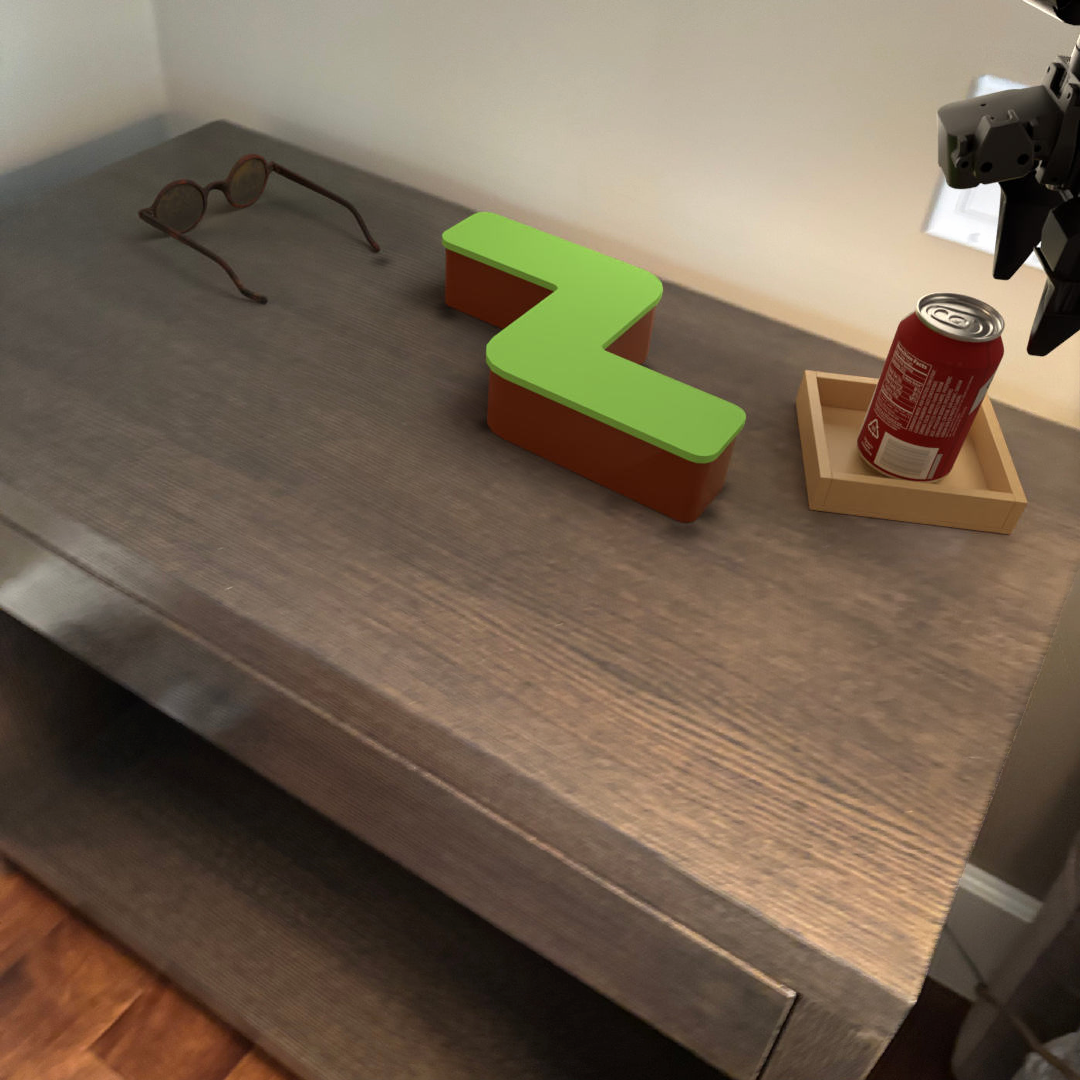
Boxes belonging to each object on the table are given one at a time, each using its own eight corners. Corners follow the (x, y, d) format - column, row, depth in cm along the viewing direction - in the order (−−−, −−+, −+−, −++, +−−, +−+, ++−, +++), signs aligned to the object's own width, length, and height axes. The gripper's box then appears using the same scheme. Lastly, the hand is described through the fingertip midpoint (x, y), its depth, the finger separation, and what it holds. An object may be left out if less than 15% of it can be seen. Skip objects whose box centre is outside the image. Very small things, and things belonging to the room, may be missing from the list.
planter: (340, 365, 77) (335, 296, 73) (480, 272, 89) (482, 208, 85) (692, 531, 67) (709, 461, 63) (799, 401, 78) (819, 335, 74)
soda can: (927, 504, 70) (994, 356, 62) (838, 462, 73) (890, 315, 64) (963, 458, 74) (1029, 313, 66) (876, 419, 77) (930, 276, 68)
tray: (973, 422, 78) (987, 391, 76) (1010, 534, 69) (1028, 502, 67) (795, 401, 78) (804, 369, 76) (809, 509, 69) (820, 477, 67)
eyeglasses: (276, 193, 97) (270, 140, 94) (388, 248, 91) (386, 194, 87) (144, 245, 88) (132, 189, 85) (258, 310, 82) (250, 253, 79)
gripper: (945, -12, 61) (869, 232, 72) (1021, 104, 47) (913, 384, 58) (1133, 8, 61) (1028, 250, 71) (1264, 130, 47) (1111, 406, 58)
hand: (1016, 314), depth 65 cm, fingers open, 9 cm apart
